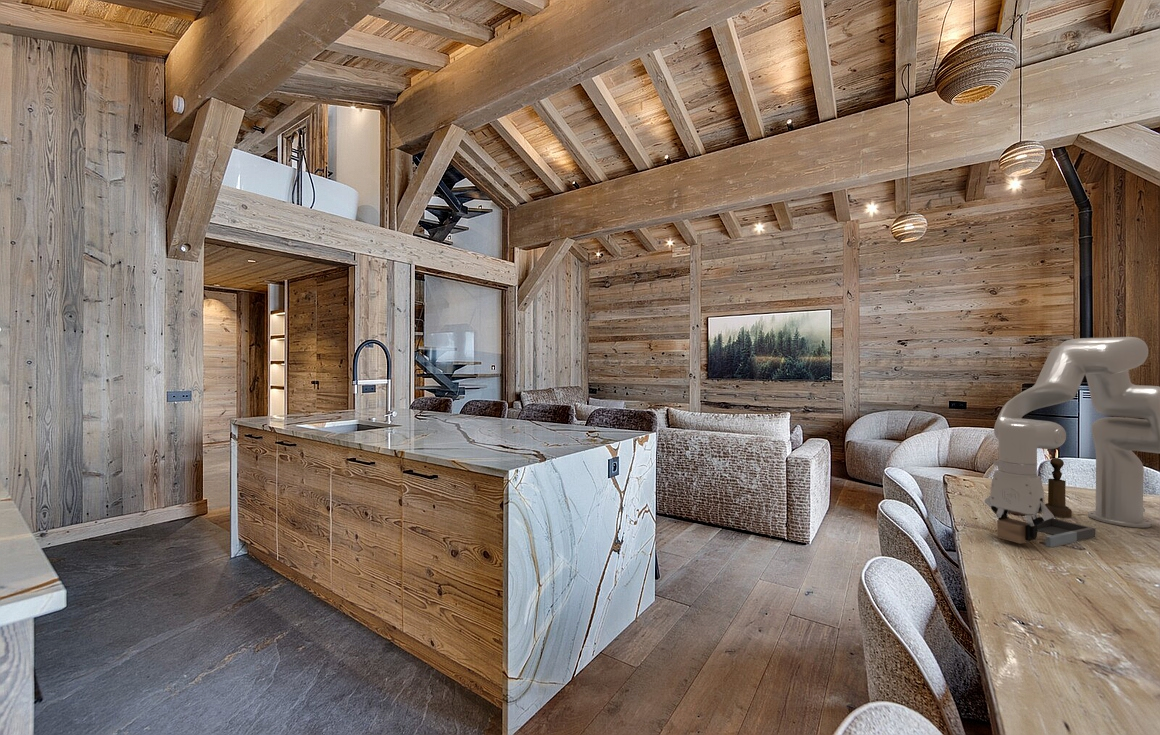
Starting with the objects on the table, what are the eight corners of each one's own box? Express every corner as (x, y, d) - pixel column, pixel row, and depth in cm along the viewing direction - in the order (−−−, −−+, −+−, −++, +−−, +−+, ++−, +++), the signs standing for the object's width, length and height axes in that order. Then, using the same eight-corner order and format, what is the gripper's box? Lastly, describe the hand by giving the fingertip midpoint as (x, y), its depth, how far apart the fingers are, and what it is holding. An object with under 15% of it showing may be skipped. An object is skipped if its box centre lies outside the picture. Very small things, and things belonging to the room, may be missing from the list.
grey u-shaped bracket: (1048, 525, 138) (1048, 517, 138) (1095, 537, 129) (1095, 528, 129) (1004, 534, 131) (1004, 525, 131) (1050, 547, 122) (1050, 537, 122)
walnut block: (1008, 534, 128) (1008, 518, 128) (1031, 540, 123) (1031, 523, 123) (997, 536, 126) (997, 520, 126) (1020, 543, 121) (1020, 526, 121)
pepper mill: (1063, 512, 150) (1063, 457, 150) (1077, 519, 144) (1077, 461, 144) (1037, 510, 152) (1037, 455, 152) (1049, 516, 146) (1050, 459, 146)
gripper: (972, 463, 131) (972, 527, 132) (1050, 477, 115) (1050, 550, 116) (989, 460, 134) (989, 523, 134) (1067, 474, 118) (1067, 545, 118)
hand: (1017, 535), depth 125 cm, fingers closed on walnut block, 5 cm apart
